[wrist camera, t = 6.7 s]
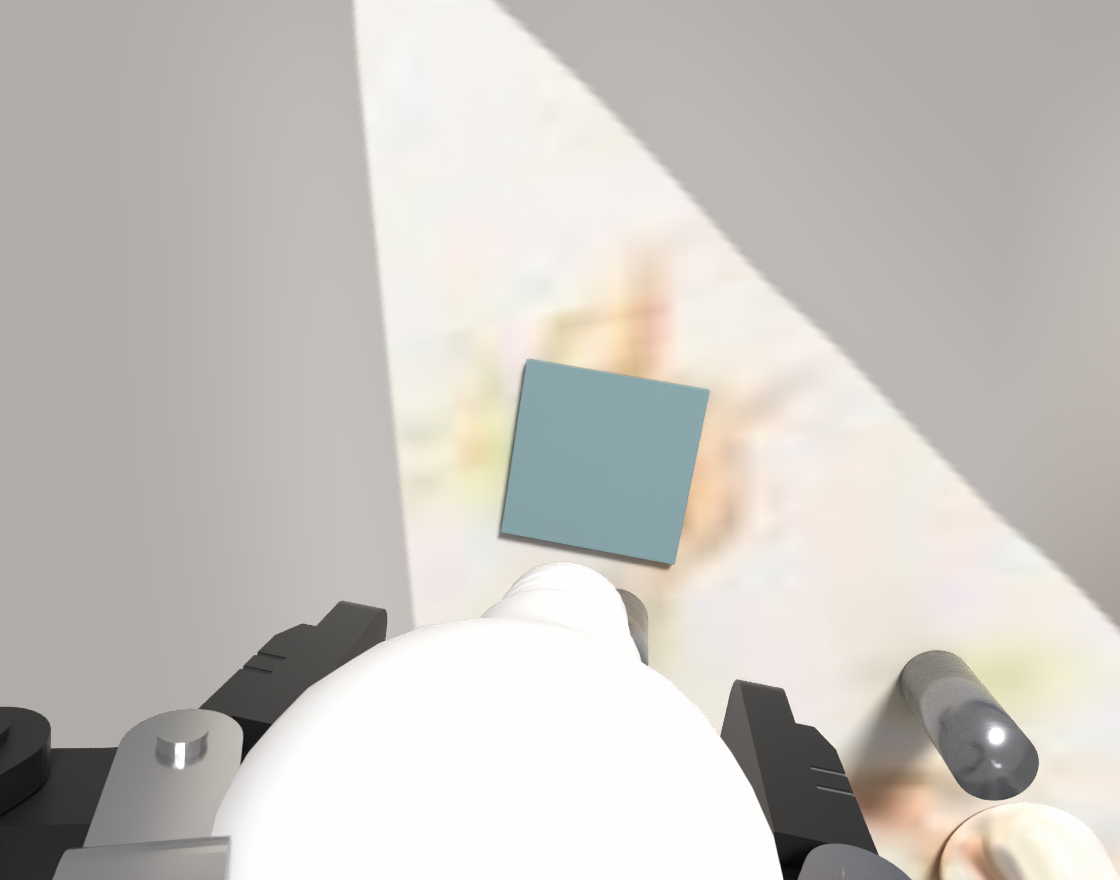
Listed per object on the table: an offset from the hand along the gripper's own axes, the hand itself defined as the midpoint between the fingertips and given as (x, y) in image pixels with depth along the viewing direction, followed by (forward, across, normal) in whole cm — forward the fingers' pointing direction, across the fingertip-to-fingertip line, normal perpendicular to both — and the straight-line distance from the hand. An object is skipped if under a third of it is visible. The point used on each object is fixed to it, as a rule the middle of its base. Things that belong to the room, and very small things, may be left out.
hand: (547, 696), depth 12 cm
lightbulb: (+4, 0, 0) cm, 4 cm away
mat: (+16, 0, 0) cm, 16 cm away
